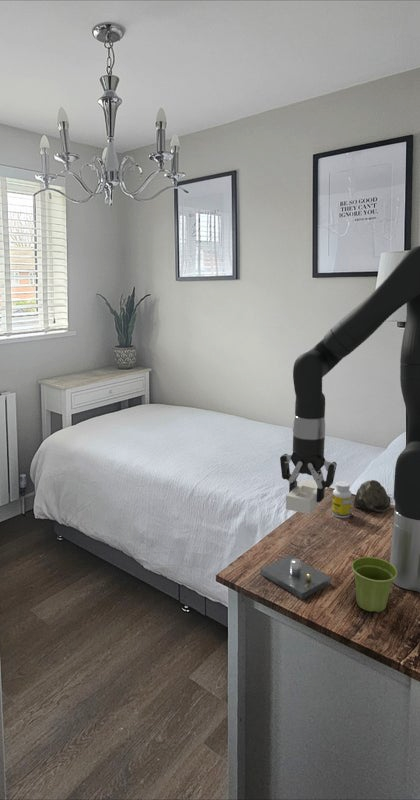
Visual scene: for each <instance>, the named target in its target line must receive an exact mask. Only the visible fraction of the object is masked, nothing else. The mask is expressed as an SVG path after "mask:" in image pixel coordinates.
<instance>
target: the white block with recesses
mask: <svg viewBox="0 0 420 800" xmlns="http://www.w3.org/2000/svg"><path fill="white" fill-rule="evenodd" d="M317 488H318V486H317V484H316V481H315V480H309V479H303V480H302V481H300V482H299V483H297V486H296V487H295V488H294V489H293V490H292V491H291V492H290V493H289V492H288V493H287V494H286V496H285V509H286V510H289V511H293V512H297V513H302V514H307V515H311V514H312V512H313V511H315V509H316V508H317V507H318V506H319V504H320V503H319V502H317ZM326 493H327V487H325V495H324V499H325V498H326Z"/></svg>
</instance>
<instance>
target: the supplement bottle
mask: <svg viewBox="0 0 420 800" xmlns="http://www.w3.org/2000/svg"><path fill="white" fill-rule="evenodd" d="M352 496H353V495H352V491H351V490H350V483H349V482H347V481H343V480H342V481H336V483H335V488H334V490H333V491H332V502H331V505H332V506H331V513H332V515H333V516H334V517H335V518H340V519H345V518H349V517H350V516H351V510H352Z"/></svg>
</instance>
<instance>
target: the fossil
mask: <svg viewBox="0 0 420 800" xmlns="http://www.w3.org/2000/svg"><path fill="white" fill-rule="evenodd" d="M353 507H354V508H361V509H363V508H364V509H367V510H369V511H370V512H372V513H375V514H382V513H384V512H386V511H388V510H389V508H390V507H391V497H390V496H389V495H388V492H387V490H386V488H385V487H384V486H383V485H382V484H381V483H380V482H379V481H377V480H374V479H371V480H367V481H365V482H363V483H361V484H360V485H359V487H358V489H357V491H356V494H355V496H354V499H353Z"/></svg>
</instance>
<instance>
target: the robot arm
mask: <svg viewBox="0 0 420 800" xmlns="http://www.w3.org/2000/svg"><path fill="white" fill-rule="evenodd" d="M405 304H406V317H405V318H406V320H405V323H404V324H405V325H404V330H403V335H402V341H401V349H400V359H399V360H400V361H399V362H400V363H399V364H400V367H399V368H400V369H399V371H400V372H399V373H400V374H399V379H400V389H401V394H402V399H403V402H404V405H405V410H406V415H407V434H406V435H407V436H406V442H405V448H404V449H403V450H402V451H401V452H400V454H399V455H398V457H397V459H396V463H395V466H394V468H395V469H394V479H393V481H394V482H393V500H394V513H393V522H392V523H393V524H392V533H391V534H392V535H391V546H390V556H389V557H390V558H389V563H391V564H392V565H394V566H395V568H396V569H397V572H398V573H397V577H396V578H395V579H394V581H393V583H392V584H394V585H396V586H397V587H399V588H402V589H404V590H409V591H415V592H418V593H420V245H418V246H415V247H413V248H411V249H409V250H408V251H407V252H406V253H405V254H404V256H403V257H402V258H401V259H400V261H399V263H398V264H397V265H395V267H394V268H393V270H392V271H391V272H390V274H389V275H387V276H386V278H385V279H384V280H383V281H382V283H380V284H379V286H377V287H376V288H375V290H373V291H372V293H370V295H368V296H367V297H366V298H365V299H364V300H363V301H362V302H361V303H359V304H358V305H357V306H356V307H354V308H353V309H352V310H351V311H349V313H348V314H346V315H345V316H344V317H343V318H342V319H340V320H339V321H338V322H337V323H336V324H335V325H334V326H333V327H332V328H331V329H329V330H328V332H327V333H326V334H325V335H324V336H323V338H322V339H321V340H320V341H319V342H318V343H316V345H314V346H313V347H312V348H311V349H309V350H308V351H307V352H304V353H302V354H299V356H297V358H296V359H295V361H294V363H293V369H292V381H293V388H294V389H293V390H294V395H295V403H294V420H293V426H292V427H293V428H292V432H293V433H292V453H291V454H288V453H283V454H282V455H281V456H280V458H279V459H280V460H279V463H280V471H281V478H282V479H283V480H286V481H287V482H288V483H289V484H288V485H289V486H288V487H289V488H288V490H289V492H288V493H290V492H291V491H292V490H293V489H294V488H295V487H296V486H297V485H298V480H297V479H298V477H299V475H300V474H302V475H305V474H306V475H308V476H312V478H313V481H314V482H316V484H317V486H318V488H317V502H319V504H321V502H323V500H324V499H325V498H324V495H325V487H326V489H328V488H330V487H331V486H332V485H333V483H334V479H335V475H336V469H337V465H338V464H337V462H336V461H332V462H330V461H327V460H326V458H325V441H326V440H325V439H326V438H325V437H326V420H325V417H326V396H325V394H324V393H323V377H325V376H326V375H327V374H328V373H330V372H331V371H332V370H333V369H334V368H335V367H336V366H337V365H338V364H339V363H340V362H341V361H342V360H343V359H344V358H346V357H347V356H348V355H350V354H351V353H352V352H353V351H355V350H356V349H358V347H359V346H360V345H362V344H363V343H364V342H365V341H367V340H368V339H369V338H370V337H371V336H372V335H373V334H374V333H375V332H376V331H377V330H378V329H379V328H380V327H381V326H382V325H383V324H384V323H385V322H386V321H387V320H388V319H389V318H390V317H391V316H392V315H393V314H394V313H396V311H398V310H399V309H400V308H402V307H403V306H404V305H405ZM291 462H292V464H293V465H294V468H293V471H292V472H291V471H290V470H291V469H290V463H291ZM323 467H325V470H326V472H327V474H326V477H324V473H323V471H322V468H323ZM324 478H326V479H324Z"/></svg>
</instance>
